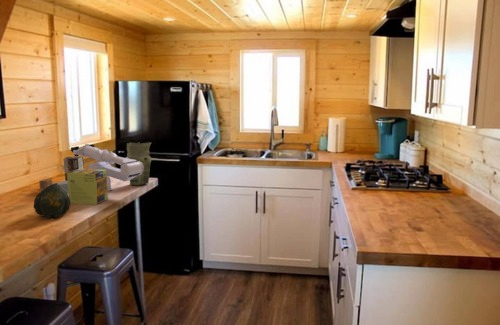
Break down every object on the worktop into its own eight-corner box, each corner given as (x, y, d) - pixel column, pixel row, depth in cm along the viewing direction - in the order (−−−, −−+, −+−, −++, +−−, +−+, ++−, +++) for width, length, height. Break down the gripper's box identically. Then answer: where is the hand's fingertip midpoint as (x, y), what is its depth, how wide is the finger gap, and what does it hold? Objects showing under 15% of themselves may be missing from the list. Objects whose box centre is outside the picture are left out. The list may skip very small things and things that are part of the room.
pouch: (126, 184, 241) (123, 141, 236) (143, 180, 250) (141, 139, 245) (137, 187, 234) (135, 143, 229) (154, 183, 243) (152, 141, 238)
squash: (25, 210, 170) (49, 182, 172) (28, 203, 183) (51, 176, 186) (55, 229, 175) (78, 201, 178) (56, 220, 189) (78, 194, 191)
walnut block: (52, 190, 225) (51, 179, 224) (48, 192, 221) (47, 181, 220) (45, 190, 226) (44, 179, 225) (40, 192, 222) (39, 180, 220)
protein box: (97, 205, 198) (95, 173, 195) (68, 203, 201) (66, 172, 198) (108, 199, 208) (106, 169, 205) (81, 197, 211) (78, 168, 208)
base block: (74, 192, 223) (73, 182, 222) (61, 194, 218) (61, 184, 217) (66, 190, 227) (66, 180, 226) (54, 192, 222) (53, 182, 221)
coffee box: (85, 183, 243) (83, 156, 240) (80, 185, 237) (78, 158, 234) (71, 183, 244) (68, 156, 241) (65, 185, 238) (62, 158, 235)
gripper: (103, 143, 231) (88, 140, 239) (79, 146, 219) (65, 142, 227) (103, 156, 233) (89, 152, 240) (80, 159, 221) (65, 155, 229)
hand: (77, 148), depth 234 cm, fingers open, 7 cm apart
